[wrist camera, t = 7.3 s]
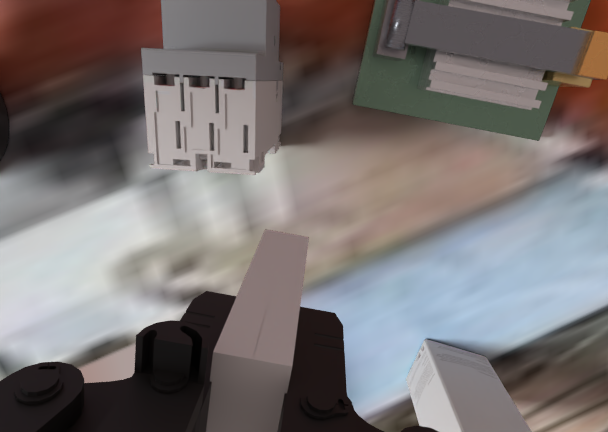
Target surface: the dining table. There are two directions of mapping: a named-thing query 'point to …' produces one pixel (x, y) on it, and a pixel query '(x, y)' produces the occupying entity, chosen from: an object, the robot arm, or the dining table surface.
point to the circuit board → (466, 73)
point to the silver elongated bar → (499, 39)
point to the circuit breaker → (214, 86)
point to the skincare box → (460, 392)
